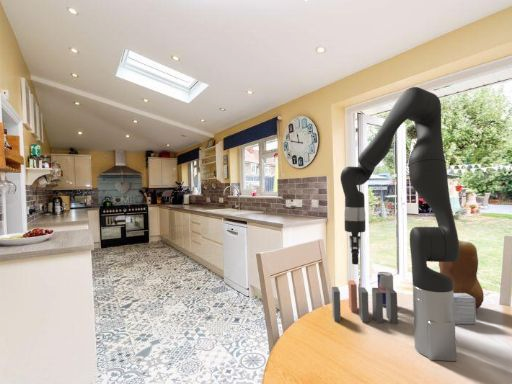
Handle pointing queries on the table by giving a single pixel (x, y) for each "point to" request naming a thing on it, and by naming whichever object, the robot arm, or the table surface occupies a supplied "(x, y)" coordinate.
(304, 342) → the table surface
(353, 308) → the domino
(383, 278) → the energy drink
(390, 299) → the domino
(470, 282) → the butternut squash
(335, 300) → the domino
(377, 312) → the domino
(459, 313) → the medicine box
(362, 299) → the domino
